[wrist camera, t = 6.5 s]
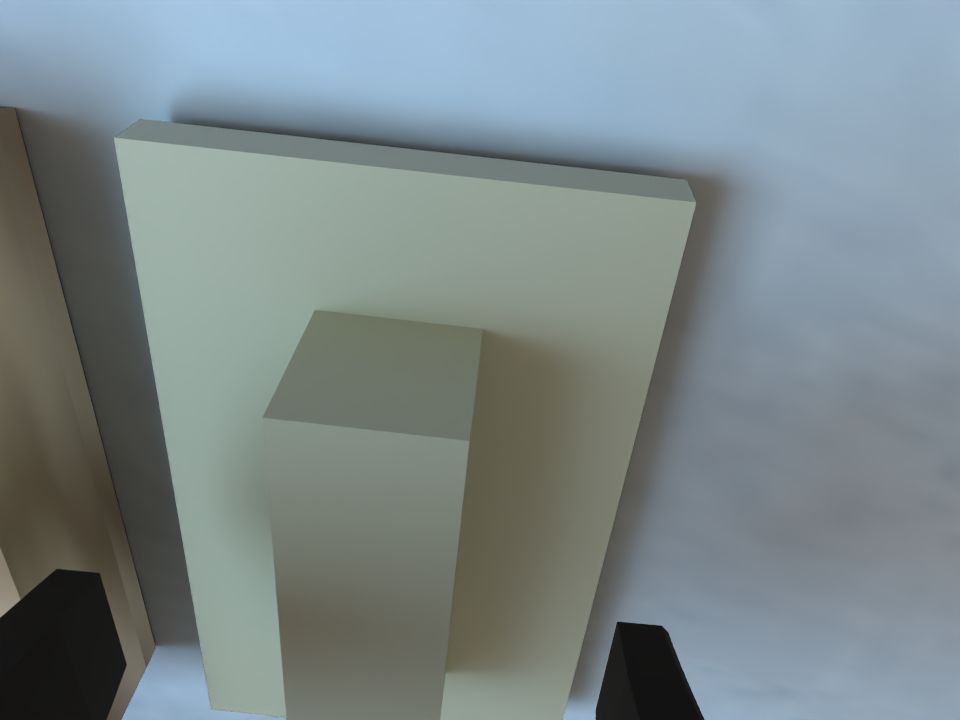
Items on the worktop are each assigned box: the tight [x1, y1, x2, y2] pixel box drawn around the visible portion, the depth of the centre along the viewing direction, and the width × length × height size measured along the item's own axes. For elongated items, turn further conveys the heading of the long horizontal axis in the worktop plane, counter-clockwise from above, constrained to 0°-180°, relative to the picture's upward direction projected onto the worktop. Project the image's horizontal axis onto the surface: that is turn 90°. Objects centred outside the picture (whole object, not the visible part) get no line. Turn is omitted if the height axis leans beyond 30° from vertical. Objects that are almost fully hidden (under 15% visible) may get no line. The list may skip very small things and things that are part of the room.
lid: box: [114, 119, 697, 720], centre depth 13 cm, size 12×7×4 cm, turn 175°
